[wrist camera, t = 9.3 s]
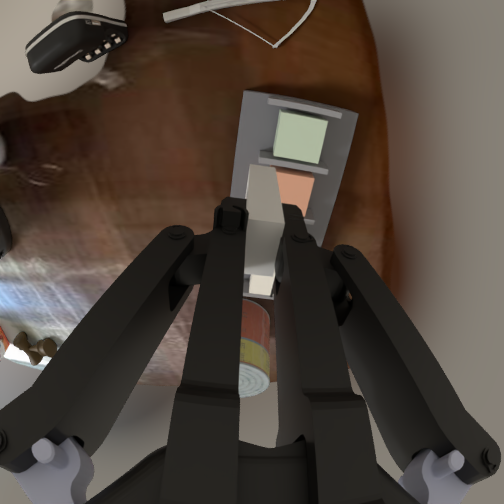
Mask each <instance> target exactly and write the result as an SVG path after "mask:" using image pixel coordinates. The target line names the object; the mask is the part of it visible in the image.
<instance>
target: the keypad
mask: <svg viewBox="0 0 504 504" xmlns="http://www.w3.org/2000/svg"><path fill="white" fill-rule="evenodd" d="M280 109H284V110H290V111H295V112H300V113H305V114H310V115H315V116H319V117H323V118H324V119H326V120H327V121H328V123H327V128H326V132H325V137H324V141H323V145H322V150H321V154H320V158H319V162H318V164H316V163H311V162H306V161H301V160H295V159H289V158H284V157H278V156H274V155H273V146H274V140H275V134H276V129H277V123H278V117H279V111H280ZM357 118H358V113H356V112H354V111H351V110H347V109H344V108H340V107H336V106H332V105H328V104H324V103H319V102H315V101H310V100H305V99H300V98H295V97H290V96H284V95H278V94H272V93H266V92H259V91H251V90H244V93H243V100H242V108H241V115H240V122H239V130H238V137H237V145H236V153H235V161H234V169H233V178H232V186H231V195H230V197H234V198H242V199H245V196H246V189H247V182H248V175H249V167H250V164H253V165H260V166H268V167H270V165H275V166H281V167H287V168H293V169H299V170H304V171H310V172H312V174H313V176H314V178H315V179H314V183H313V187H312V191H311V195H310V199H309V203H308V207H307V210H306V214H305V216H303V217H304V221H305V225H306V228H307V232H308V233H309V234H311V235H312V236H313V237H314V238H315V240H316V243H317V246H319V247H321V245H322V242H323V239H324V236H325V233H326V229H327V226H328V223H329V220H330V217H331V213H332V210H333V207H334V203H335V200H336V197H337V193H338V190H339V186H340V183H341V179H342V176H343V172H344V169H345V165H346V161H347V158H348V154H349V150H350V146H351V142H352V138H353V134H354V130H355V126H356V122H357ZM250 276H251V274H244V285H243V296H248V297H256V298H264V299H272V300H274V296H273V297H270V296H269V295H261V294H253V293H249V283H250Z"/></svg>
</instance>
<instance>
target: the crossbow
mask: <svg viewBox="0 0 504 504" xmlns="http://www.w3.org/2000/svg"><path fill="white" fill-rule="evenodd" d="M269 1H279V0H211V1H208V0H207V1H206V2H202V3H198V4H195V5H192V6H189V7H185V8H181V9H177V10H173V11H169V12H166V13H163V17H164V22H166V23H169V22H172V21H175V20H179V19H182V18H186V17H189V16H193V15H196V14H199V13H205V12H207V11H212V10H217V9H222V8H227V7H233V6H240V5H246V4H253V3H260V2H269ZM316 1H317V0H311V4H310V6H309V9H308V11H307V12H306V13H305V14H304V16H303V17H302V18H301V20H300V21H299V22H298V23H297V24H296V25H295V26H294V27H293V28H292V29H291V30H290V31H289V33H288V34H286V35H285V36H284V37H283V38H282V39H281V40H279V41H278V42H277V43H276V44H275V45H272V44H270V43H269V42H267V41H266V40H264V39H262V38H261V37H259V36H258V35H256V34H254V33H253V32H251V31H249V30H247V29H246V28H244V27H242V26H240V25H239V24H237V23H235V22H233V21H231V20H229V19H228V18H226V17H224V16H222V15H220V14H218V13H216V12H214V11H212V12H214V13H216V14H218V15H220V16H222V17H224V18H226V19H228V20H229V21H231V22H233V23H235V24H237V25H239V26H240V27H242V28H244V29H246V30H247V31H249V32H251V33H253V34H254V35H256V36H258V37H259V38H261V39H262V40H264V41H266V42H267V43H269V44H270V45H272V46H273V48H277V47H278V45H279V44H280V43H281V42H282V41H283V40H285V39H286V38H287V37H288V36H289V35H290V34H292V33H293V32H294V31H295V29H296V28H297V27H298V26H299V25H300V24H301V23H302V22H303V21H304V20H305V19H306V18H307V16H308V15H309V14H310V12H311V11H312V10H313V8H314V5H315V3H316Z"/></svg>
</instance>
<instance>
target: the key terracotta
mask: <svg viewBox="0 0 504 504" xmlns="http://www.w3.org/2000/svg"><path fill="white" fill-rule="evenodd" d="M270 167H275V169H276V174H277V180H278V186H279V191H280V197H281V203H286V204H293V205H297V206H298V207H299V208H300V209H301V210H302V214H303V216H305V214H306V210H307V207H308V203H309V199H310V195H311V191H312V187H313V183H314V179H315V178H314V176H313V174H312V172H310V171H304V170H299V169H293V168H287V167H281V166H275V165H270Z"/></svg>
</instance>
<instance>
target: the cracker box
mask: <svg viewBox="0 0 504 504" xmlns="http://www.w3.org/2000/svg"><path fill="white" fill-rule="evenodd" d="M9 344H10V343H9V342H8V340H7V338H6V336H5V335H4V333H3V331H2V329H1V327H0V361H1V359H2V357H3V356H4V354H5V352H6V350H7V348H8V346H9Z"/></svg>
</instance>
